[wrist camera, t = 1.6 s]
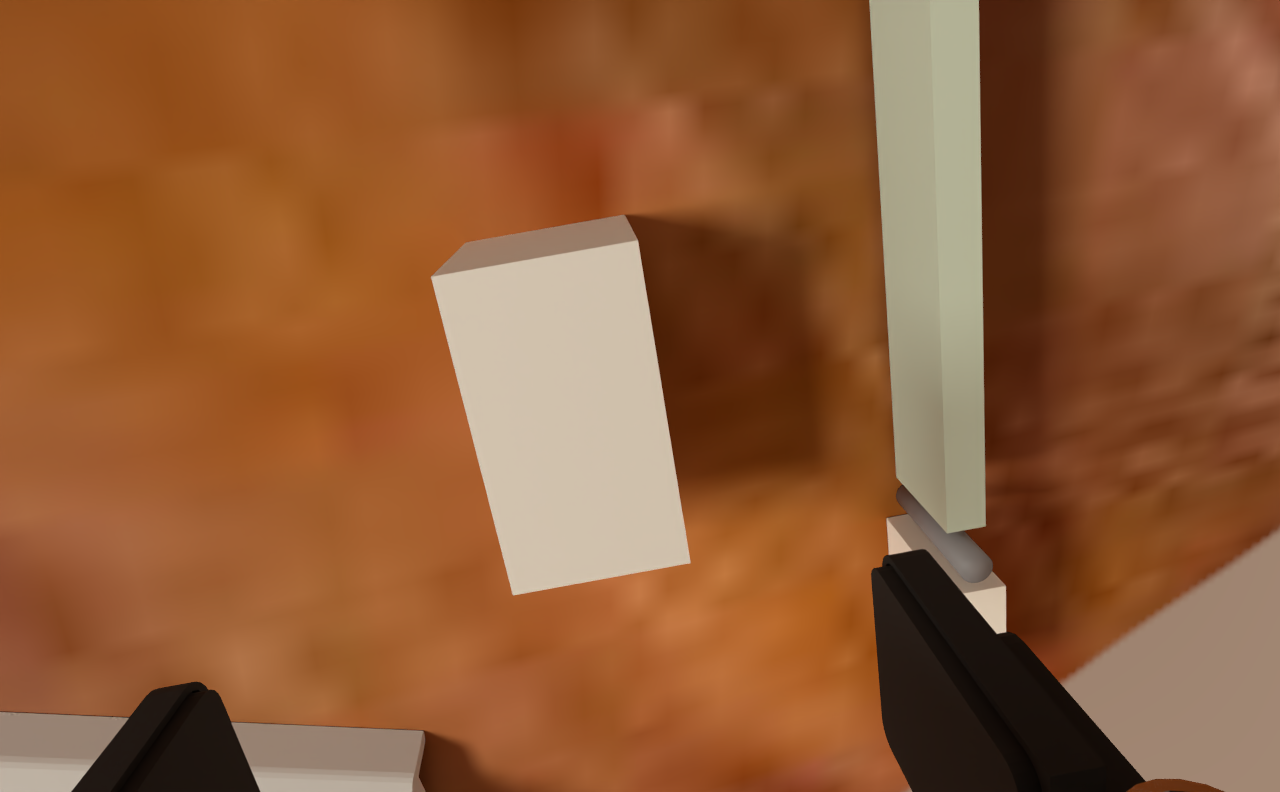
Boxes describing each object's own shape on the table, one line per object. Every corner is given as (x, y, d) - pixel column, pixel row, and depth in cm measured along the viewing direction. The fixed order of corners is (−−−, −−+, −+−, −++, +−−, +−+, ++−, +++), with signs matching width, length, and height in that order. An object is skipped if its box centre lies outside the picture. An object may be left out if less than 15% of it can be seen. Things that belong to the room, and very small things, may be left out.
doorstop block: (466, 241, 24) (430, 277, 18) (624, 214, 24) (637, 240, 18) (527, 497, 27) (512, 595, 21) (667, 472, 27) (690, 562, 21)
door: (948, 499, 28) (1022, 574, 23) (894, 509, 28) (957, 586, 23) (927, -160, 21) (1026, -242, 16) (856, -148, 21) (934, -227, 16)
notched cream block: (825, -454, 19) (906, -646, 14) (897, -465, 19) (1001, -661, 14) (894, 648, 30) (952, 744, 25) (939, 639, 30) (1006, 734, 25)
